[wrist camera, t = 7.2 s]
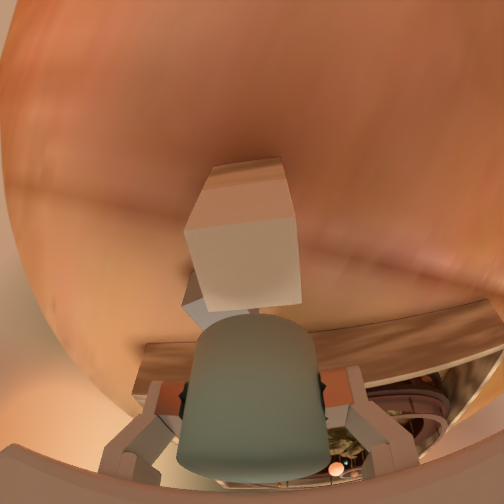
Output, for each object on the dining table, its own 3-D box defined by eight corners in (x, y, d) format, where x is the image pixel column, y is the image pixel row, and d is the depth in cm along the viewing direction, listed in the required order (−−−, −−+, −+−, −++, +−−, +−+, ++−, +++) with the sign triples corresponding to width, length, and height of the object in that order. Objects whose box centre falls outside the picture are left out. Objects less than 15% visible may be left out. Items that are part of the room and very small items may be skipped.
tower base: (213, 166, 24) (201, 190, 19) (280, 156, 23) (286, 178, 19) (225, 225, 27) (218, 259, 22) (287, 217, 26) (293, 251, 22)
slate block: (191, 272, 30) (181, 306, 26) (234, 253, 29) (230, 286, 24) (217, 305, 32) (212, 340, 28) (259, 289, 31) (258, 325, 27)
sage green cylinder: (180, 319, 11) (150, 438, 7) (313, 305, 11) (335, 433, 6) (212, 389, 14) (202, 482, 9) (315, 381, 13) (326, 477, 9)
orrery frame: (147, 343, 36) (131, 394, 29) (487, 299, 32) (514, 339, 25) (226, 461, 62) (224, 488, 55) (409, 437, 57) (415, 463, 51)
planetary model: (387, 287, 31) (425, 373, 21) (453, 401, 49) (468, 444, 39) (154, 404, 47) (141, 462, 37) (298, 464, 64) (299, 502, 54)
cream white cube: (201, 190, 19) (182, 230, 15) (286, 178, 19) (295, 216, 14) (218, 260, 22) (208, 312, 18) (293, 251, 22) (302, 303, 17)
